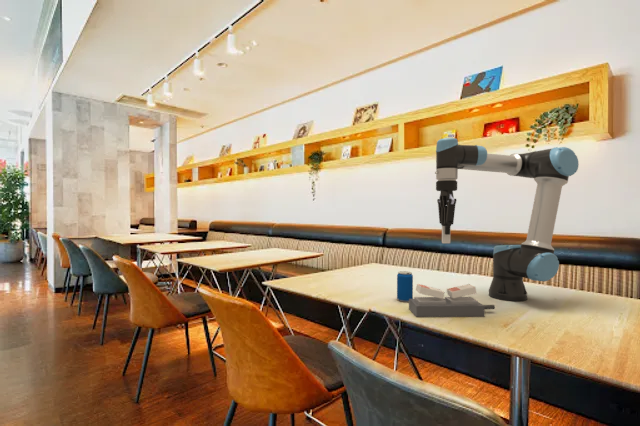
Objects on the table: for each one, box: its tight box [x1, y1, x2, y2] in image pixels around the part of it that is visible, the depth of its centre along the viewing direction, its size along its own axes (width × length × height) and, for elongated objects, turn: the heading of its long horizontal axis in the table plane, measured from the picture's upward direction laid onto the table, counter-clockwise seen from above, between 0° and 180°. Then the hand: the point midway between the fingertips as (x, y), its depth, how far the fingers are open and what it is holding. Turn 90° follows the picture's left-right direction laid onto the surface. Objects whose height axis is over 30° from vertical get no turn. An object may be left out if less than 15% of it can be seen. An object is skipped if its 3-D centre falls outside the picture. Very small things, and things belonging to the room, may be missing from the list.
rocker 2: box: [446, 283, 477, 298], centre depth 133 cm, size 9×5×2 cm, turn 91°
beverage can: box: [396, 270, 414, 303], centre depth 150 cm, size 6×6×12 cm
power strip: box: [408, 296, 496, 318], centre depth 134 cm, size 31×10×5 cm, turn 91°
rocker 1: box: [415, 283, 445, 299], centre depth 133 cm, size 9×5×2 cm, turn 91°
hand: (446, 243), depth 133 cm, fingers closed
